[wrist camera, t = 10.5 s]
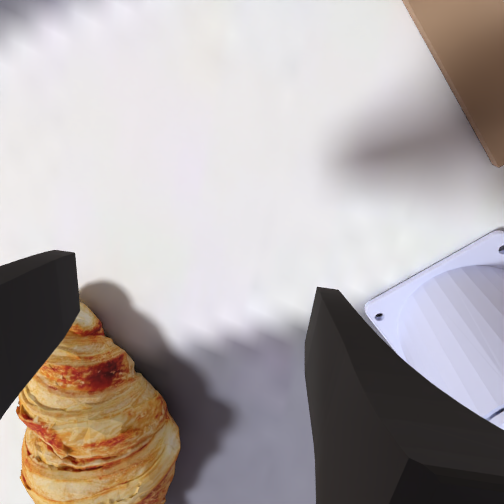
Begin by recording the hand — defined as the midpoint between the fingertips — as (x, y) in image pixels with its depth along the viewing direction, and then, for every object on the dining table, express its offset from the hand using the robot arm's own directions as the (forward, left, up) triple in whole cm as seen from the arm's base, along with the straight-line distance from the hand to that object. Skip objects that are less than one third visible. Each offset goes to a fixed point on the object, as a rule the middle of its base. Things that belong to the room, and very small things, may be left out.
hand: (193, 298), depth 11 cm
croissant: (-7, +16, -10) cm, 20 cm away
